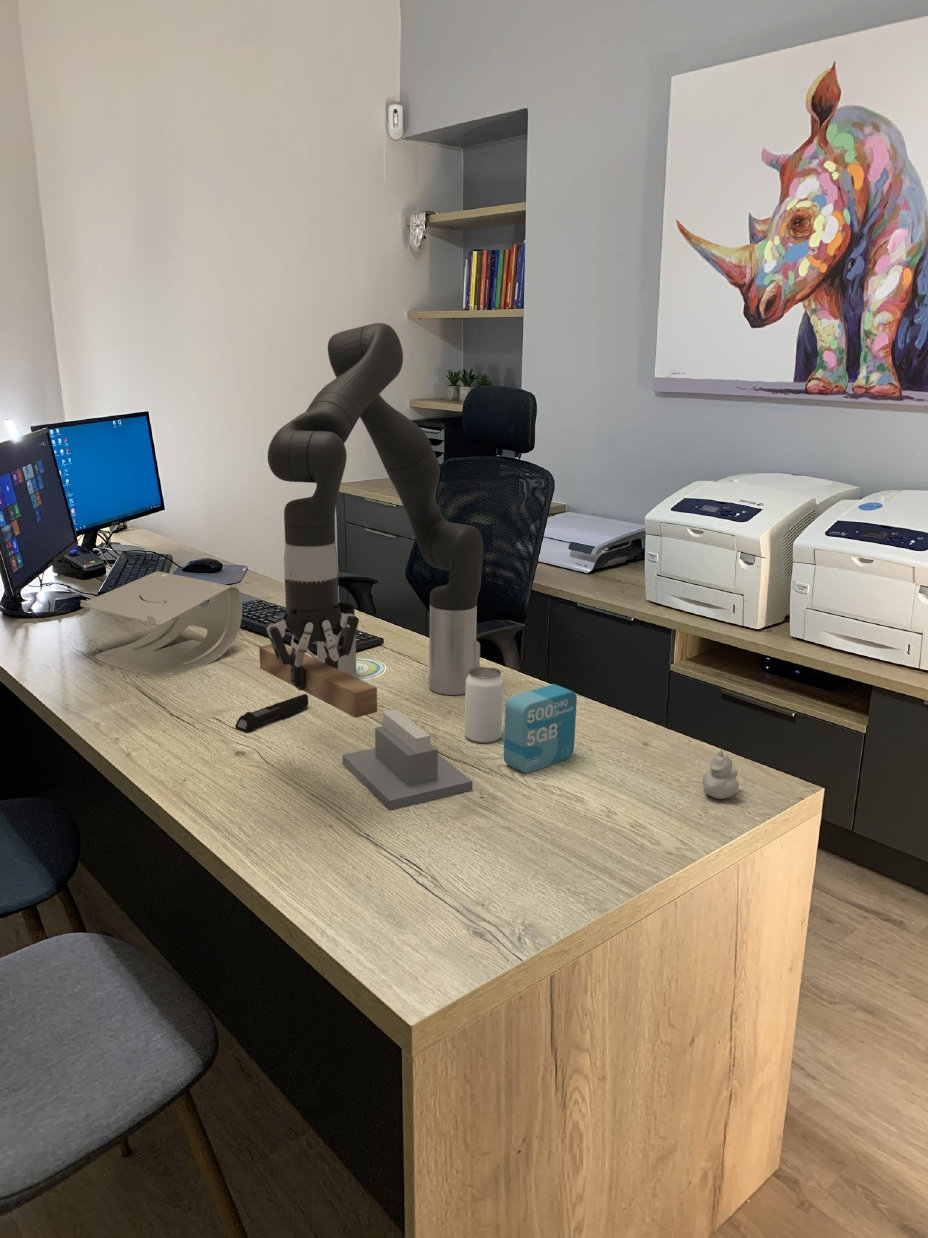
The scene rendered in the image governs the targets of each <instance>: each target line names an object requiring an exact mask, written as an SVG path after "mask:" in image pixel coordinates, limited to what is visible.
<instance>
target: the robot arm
mask: <svg viewBox="0 0 928 1238" xmlns="http://www.w3.org/2000/svg"><path fill="white" fill-rule="evenodd" d="M328 339H329V340H328V342H327V354H328V359H329V364H330V366H331V368H332V371H333V373H334V376H335V377H336V378H335V379H333V380H331V381H330V382H329V383H327V384H326V385H325V386H324V387H322V389H321V390H320V391H319V392H318V393H316V395H315V396H314V398H313V399H312V401H311V403H309V405H308V407H307V409H306V410H305V411H304V412H302V413H301V414H299V415H297V416H296V417H295V418H293V419H292V420H290V421H289V422H287V423H286V424H285V425H283V426H282V427H281V428H280V429H278V431H277V432H275V434H274V435H273V437H272V438H271V441H270V443H269V446H268V450H267V463H268V466H269V469H270V471H271V472H272V474H273V475H274V476H275V477H277V479H279V480H281V481H284V482H290V483H292V482H293V483H312V484H316V488H315V491H314V493H313V494H312V495H311V496H308V497H302V498H296V499H293V500H290V501H288V502H287V503H286V504H285V506H284V512H283V523H284V525H283V526H284V553H283V554H284V555H283V567H284V568H283V569H284V592H285V614H284V616H283V619H282V620H280V621H277V622H276V623H270V622H269V623H267V624H266V625H265V631H266V633H267V636H268V638H269V640H270V644H272V646H273V649H274V651H275V654H276V657H277V659H278V660H280V661H281V662H282V663H283V664H284V665H288V664H289V665H290V666H291V682H292V684H293V685H294V686H293V685H292V686H293V687H295V688H296V689H297V690H298V691H303V690H304V667H303V666H302V662H303V658H304V654H306V653H307V648H308V647H309V644H312V643H316V642H317V641H319V642H321V643H322V645H323V648H324V651H325V654H326V656H327V658H325V664H327V665H329V666H332V667H334V668H336V669H338V660H339V658H340V657H342V656H344V655H348V654H349V653H350V651H351V647H352V644H353V640H354V637H355V633H356V634H357V630H358V625H359V621H360V618H359V617H357V616H356V615H355V614H354V615H355V616H354V615H353V614H351V613H347V614H343V613H341V611H340V610H339V607H338V603H340V600H339V563H338V559H339V558H338V553H337V552H338V551H337V547H336V546H337V545H336V507H337V503H338V498H339V497H338V496H339V491H340V487H341V483H342V480H343V477H344V472H345V469H346V465H347V459H348V458H347V455H348V454H347V448H346V445H345V443H346V442H347V440H348V439H349V437H350V434H351V433H352V431H353V429H354V428H355V426H356V425H357V423H358V420H359V419H360V420H361V421H362V423H363V426H364V427H365V429H366V431H367V433H368V436H369V437H370V439H371V441H372V443H373V444H374V447H375V450H376V451H377V454H378V456H379V459H380V460H381V463H382V465H383V468H384V469H385V472H386V473H387V476H388V477H389V479H390V481H391V483H392V484H393V486H394V488H395V491H396V493H397V495H398V497H399V499H400V501H401V504H402V505H403V508H404V511H405V512H406V515H407V517H408V520H409V522H410V525H411V528H412V531H413V534H414V537H415V539H416V543H417V545H418V547H419V550H420V553H421V555H422V557H423V559H424V561H425V562H426V563H427V564H428V565H430V567H433V568H435V569H438V570H444V571H449V578H448V579H449V580H448V583H447V584H444V585H440V586H436V587H435V588H433V589H432V590H431V591H430V593H429V644H428V645H429V649H428V650H429V653H428V654H429V655H428V656H429V661H428V662H429V663H428V664H429V665H428V668H429V669H428V688H429V690H431V691H432V692H434V693H437V694H440V695H447V696H456V695H457V696H458V695H459V696H460V695H465V693H466V679H467V677H468V675H469V673H468V671H469V670H470V669H472V668H475V667H481V664H480V663H481V662H480V661H481V660H480V659H481V644H480V642H479V641H478V640H477V617H478V615H477V613H478V610H477V607H478V606H477V605H478V597H479V593H480V591H481V586H482V585H481V584H482V572H483V571H482V570H483V560H484V540H483V537H482V534H481V531H479V529H478V527H477V528H476V527H475V526H473V525H468V524H463V523H456V522H450V521H447V520H446V518H445V517H444V516H443V514H442V513H441V512H442V511H441V510H440V508H439V505H438V503H437V500H436V495H437V489H438V485H439V482H440V475H441V469H440V462H439V460H438V457H437V455H436V453H435V450H434V448H433V446H432V444H431V441H430V439H429V437H428V436H427V434H426V432H425V431H424V429H422V428H421V427H420V426H419V425H418V424H417V423H415V422H414V421H413V420H411V419H410V418H409V417H407V415H405V414H403V413H401V411H398V410H397V409H396V408H394V407H393V406H392V405H391V404H389V403H388V402H387V401H386V400H385V399H384V398H383V397H382V396H381V393H382V392H383V391H384V390H385V389H386V388H387V387H388V386H389V385H390V384H391V383H392V382H393V381H394V380H395V379H396V378H397V377H398V376H399V374H400V372H401V371H402V367H403V362H404V353H403V352H404V351H403V348H402V344H401V341H400V338H399V335H398V334H397V332H396V331H395V329H394V328H393V327H392V326H391V325H389V324H386V323H384V322H383V323H381V322H378V323H377V322H376V323H370V324H367V325H366V324H365V325H363V326H362V325H361V326H357V327H354V328H351V329H347V330H343V331H340V332H336V333H334V334H333V335H332V336H331V337H330V338H328ZM339 621H340V622H341V623H340V625H341V627H342V629H341V633H340V636H339V640H338V644H337V646H336V642H335V639H334V636H333V631H334V629H335V628H336V626H337V625H338V623H339ZM286 629H288V630H289V632H290V633H291V634H292V636H291V637H292V638H291V641H290V648H291V651H290V654H288V652H287V650H286V647H285V645H286V644H285V643H284V642H285V641H284V639H283V638H284V637H285V634H286V633H285V631H286ZM308 649H309V648H308Z"/></svg>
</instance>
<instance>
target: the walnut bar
mask: <svg viewBox="0 0 928 1238" xmlns="http://www.w3.org/2000/svg"><path fill="white" fill-rule="evenodd" d="M284 645H285V647H286V650H287V652H288V654H290V651H291V646H288V645H286V644H284ZM258 649H259V651H258V652H259V653H258V654H259V669H260V670H262V671H264V672H266V673H267V674H270V675H272V676H274V677H276V678H277V679H279V680H282V681H284V682H285V683H288V684H289V685H291V686H293V687H295V686H294V685H293V684H292V682H291V666H290V665H289V664H288V665H284V664H283V663H282V662H281V661H280V660H278V659H277V657H276V654H275V651H274V649H273V646H272V644H271V643H270V644H266V645H261V646H259V647H258ZM302 666H303V667H304V690H302V691H303V692H305V694H307V695H310V696H313V697H315V698H316V699H318V700H320V701H322V702H324V703H326V704H328V705H330V706H331V707H334V708H336V709H337V710H340V711H341V712H343V713H345V714H348V715H349V716H351V717H352V718H355V719H357V718H361V717H364V716H367V715H371V714H375V713H378V687H377V686H375V685H372V684H370V683H368V682H366V681H364V680H362V679H359V678H355V677H353V676H351V675H349V674H347V673H345V672H342V671H340V670H338V669H336V668H334V667H332V666H329V665H327V664H325V663H323V662H321V661H319V660H316V659H314V658H313V657H312V656H311V655H309V654H306V653H305V654H304V658H303V662H302Z"/></svg>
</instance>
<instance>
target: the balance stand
mask: <svg viewBox="0 0 928 1238" xmlns="http://www.w3.org/2000/svg"><path fill="white" fill-rule="evenodd" d="M381 719H382V726H377V727H375V728H374V732H375V733H374V735H375V736H374V737H375V739H374V740H375V741H374V742H375V743H374V745H375V748H367V749H365V750H359V751H355V752H350V753H345V754H344V753H343V754H342V756H341V757H342V764H343V766H344V767H346V768H347V769H348V771H350V772H351V774H353V775H354V776H355V777H356V778H357V780H359V781H360V782H361V784H362V785H364V786H365V787H366V788H367V789H368V790H369V791H370V792H371V793H372V794H373V795H374V796H375V798H377V800H379V801H380V802H381V803H382V804H383V805H384V806H385V807H386V808H387V809H388V810H389V811H391V810H395V809H399V808H404V807H408V806H412V805H415V804H419V803H420V804H421V803H425V802H428V801H432V800H436V799H441V798H446V797H449V796H453V795H457V794H462V793H466V792H469V791H473V780H472V779H470V777H468V776H467V775H466V774H464V773H463V772H461V770H459V769H458V768H457V767H455V766H454V765H453V764H451V763H450V762H449V761H448V760H447V759H445V758H444V757H443V756H441V755H440V754H439V748H437V747H435V746H434V745H433V744H432V743H431V734H429V733H428V732H426V731H425V730H423V729H422V728H421V727H420V726H418V725H417V724H416V723H414V722H413V721H412V720H411V719H409V718H408V717H407V716H405V715H404V714H403V713H401V712H400V711H399V710H398V709H390V710H385V711H382V718H381Z"/></svg>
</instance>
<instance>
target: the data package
mask: <svg viewBox="0 0 928 1238" xmlns="http://www.w3.org/2000/svg"><path fill="white" fill-rule="evenodd" d="M577 699H578V696H577V693H576V692H575V691H573V690H570V689H568V688H565V687H563V686H560V685H558V684H555V683H552V684H549V685H545V686H541V687H537V688H535V689H531V690H528V691H527V690H526V691H524V692H520V693H517V694H514V695H511V696H510V697H508V699H507V700H506V703H505V705H504V706H505V708H504V733H503V761H504V763H505V764H507V765H509V766H510V767H513V768H514V769H516V770H519V771H520V772H522V773H525V774H530V773H531V772H534V771H537V770H541V769H542V768H546V767H548V766H550V765H554V764H557V763H559V762H563V761H565V760H569V758H570V757H571V756H573V753H574V750H575V738H576V737H575V736H576V721H577V720H576V719H577V718H576V717H577V704H578V703H577V702H578V701H577ZM545 766H546V767H545Z"/></svg>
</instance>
